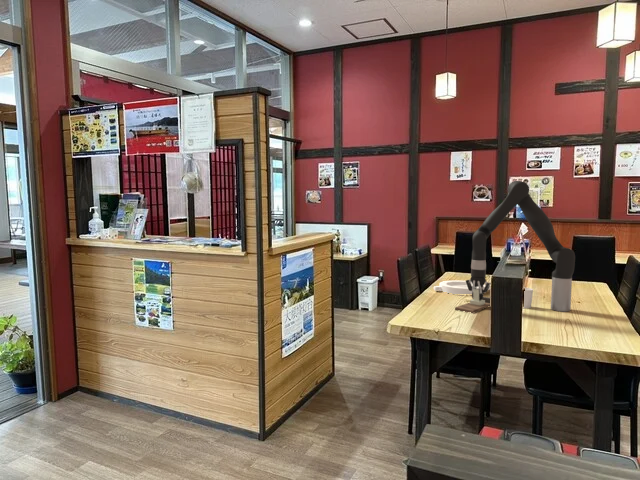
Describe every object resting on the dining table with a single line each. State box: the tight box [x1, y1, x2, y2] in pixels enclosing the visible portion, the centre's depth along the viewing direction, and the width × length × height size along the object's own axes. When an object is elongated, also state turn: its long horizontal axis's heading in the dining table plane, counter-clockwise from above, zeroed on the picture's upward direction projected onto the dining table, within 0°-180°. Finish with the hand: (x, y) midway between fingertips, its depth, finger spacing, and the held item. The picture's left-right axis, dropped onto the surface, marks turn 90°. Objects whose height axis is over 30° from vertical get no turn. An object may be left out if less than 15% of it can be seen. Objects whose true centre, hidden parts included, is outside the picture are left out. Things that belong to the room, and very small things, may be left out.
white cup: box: [523, 287, 534, 309], centre depth 241 cm, size 8×8×10 cm
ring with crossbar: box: [433, 279, 491, 295], centre depth 284 cm, size 28×28×5 cm
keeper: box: [469, 289, 485, 306], centre depth 242 cm, size 5×6×8 cm
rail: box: [454, 296, 491, 314], centre depth 240 cm, size 24×10×4 cm, turn 134°
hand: (477, 299), depth 242 cm, fingers closed on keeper, 3 cm apart
